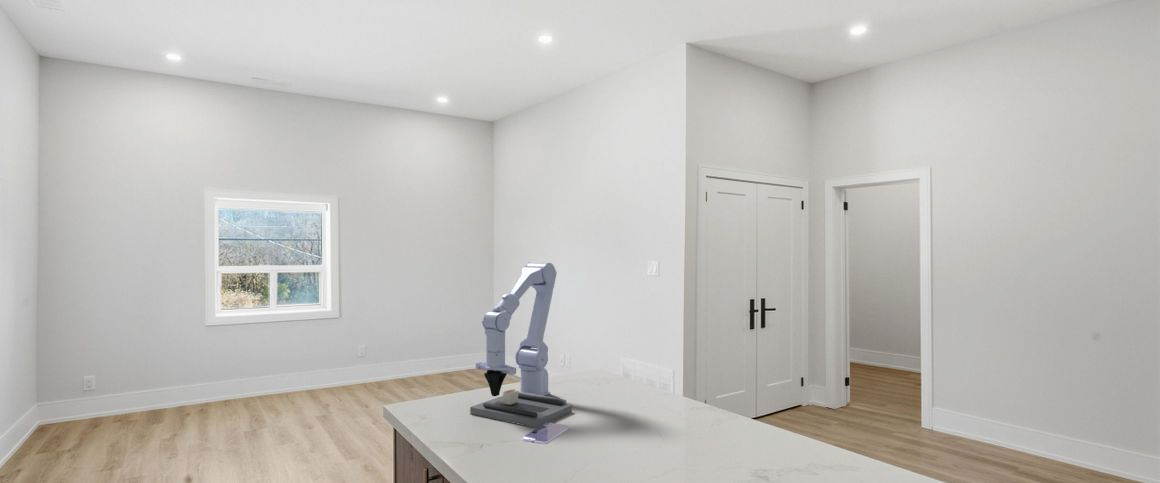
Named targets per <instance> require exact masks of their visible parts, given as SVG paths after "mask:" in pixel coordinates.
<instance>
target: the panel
mask: <svg viewBox="0 0 1160 483" xmlns="http://www.w3.org/2000/svg"><path fill="white" fill-rule="evenodd" d="M484 403H491V404H496V405H501V406H506V407H512V408H517V409H522V410H527V411H532V412H536V413H537V414H538V415H537V417H530V416H525V415H520V414H515V413H510V412H505V411H501V410H496V409H491V408H486V407H484V406H483V404H484ZM469 409H470V411H469V412H470V413H469V414H470V415H473V416H478V417H479V416H480V417H483V418H488V419H493V420H497V421H502V420H503V421H502V422H506V421H509V422H508V423H511V422H514V423H513V424H516V423H519V424H518V425H520V424H523V425H522V426H525V425H526V426H525V427H530V428H534V429H537V428H538V427H540V426H541V425H543V424H545V423H548V422H549V423H551V422H552V421H555V420H557V419H559V418H561V417H563V416H566V415H568V414H571V413H572V412H573V405H572V404H568V403H566V404H561V405H556V404H550V403H545V402H539V401H534V400H528V399H523V398H518V402H517V403H514V404H511V405H509V404H504V403H503V395H502V396H497V397H496V398H492V399H491V400H487V401H483V402H481V403H479V404H475V405H472V406H470V408H469Z"/></svg>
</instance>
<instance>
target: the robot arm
mask: <svg viewBox="0 0 1160 483" xmlns="http://www.w3.org/2000/svg"><path fill="white" fill-rule="evenodd" d="M557 273H558V272H557V269H556V267H555V266H554V264H553V263H551V262H529V261H528V262H526V263H525V265H524V266H523V268H521V276H520V277H519V279H518V280H517V282H516V283H515V285H514V286H513V288H512V290H511V291H510V293H504V294H503V295H502V296H501V299H500V300H499V301H498V302H497V304H496V306H494V308H493V309H492V310H491V311H488V312H486V313H485V315H484V316H483V319H482V321H481V324H482V327H483V328H484V334H485V336H486V338H485V339H486V342H485V343H486V344H485V345H486V347H485V348H486V349H485V350H486V352H485V353H486V356H485V361H486V362H476V363H475V370H481V371H486V372H484V373H483V376H484V378H485V379H486V381H487V383H488V386H489V390H490V394H491V397H499V396H500V392H501V388H502V385H503V383H504V380H505V378H506V377H507V375H508V374H509V375H510V376H514V375H517V367H516V366H515V367H514V366H510V365H508V364H506V330H507V329H508V328H509V327H510V323H511V320H512V316H513V314H514V313H515V311H517V309H518V308H519V307H520V299H521V298H522V296H523V295H524V294H525V293H527V290H529V289H530V287H532V288H533V289H534V290H535V298H534V303H533V309H532V312H531V315H530V316H531V317H530V321H529V327H528V330H527V336H526V338H525V339H523V340H522V341H521V342H519V346H518V349H517V351H516V352H515V356H514V357H515V358H514V359H515V362H516V365H517V366H518V368H519V369H520V392H525V393H531V394H536V395H542V396H548V395H550V394H551V391H549V372H548V369H546V367H547V364H548V361H549V355H548V354H549V353H548V352H549V346H547V344H546V343H545V342H544V339H545V338H544V337H545V332H546V328H547V322H548V318H549V312H550V309H551V303H552V297H553V293H554V289H555V284H556V277H557Z"/></svg>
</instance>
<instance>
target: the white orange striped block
mask: <svg viewBox="0 0 1160 483" xmlns="http://www.w3.org/2000/svg"><path fill="white" fill-rule="evenodd" d="M518 391H519V390H516V389H514V388H513V389H508V390H506V391H503V392H502V393H503V395H502V396H503V403H504V404H509V405H511V404H514V403H517V402H518Z"/></svg>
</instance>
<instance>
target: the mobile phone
mask: <svg viewBox="0 0 1160 483" xmlns="http://www.w3.org/2000/svg"><path fill="white" fill-rule="evenodd" d="M568 429H570V426H569V425H568V424H560V423H556V422H555V423H554V422H548V423H545V424H543V425H541V426H539V427H537V428H534V429H533V430H531V431H530V432H529V433H526V434H525V435H524V436H522V437H521V441H523V442H529V443H536V444H541V445H545V444H546V445H547V444H549V443H550V442H552V441H553V440H554V439H556V438H558V437H559V436H560V435H561V434H563V433H564V432H566V431H567V430H568Z"/></svg>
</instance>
